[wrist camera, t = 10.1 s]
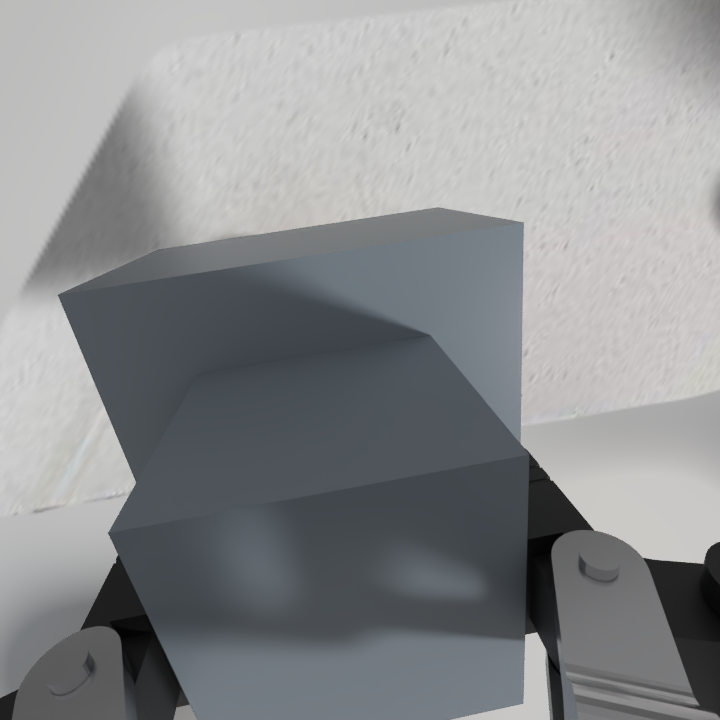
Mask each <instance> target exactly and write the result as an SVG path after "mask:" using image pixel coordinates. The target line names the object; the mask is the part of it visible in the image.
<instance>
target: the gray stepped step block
mask: <svg viewBox="0 0 720 720" xmlns="http://www.w3.org/2000/svg"><path fill="white" fill-rule="evenodd" d="M523 229H524V223H523V222H517V221H512V220H506V219H500V218H495V217H489V216H483V215H478V214H472V213H466V212H461V211H455V210H449V209H444V208H431V209H424V210H418V211H411V212H405V213H398V214H391V215H385V216H378V217H372V218H365V219H358V220H352V221H345V222H339V223H332V224H325V225H319V226H312V227H305V228H299V229H292V230H286V231H279V232H272V233H266V234H259V235H253V236H246V237H239V238H233V239H226V240H220V241H213V242H206V243H200V244H193V245H186V246H180V247H173V248H167V249H160V250H157V251H155V252H153V253H150V254H148V255H146V256H144V257H141V258H139V259H137V260H135V261H132V262H130V263H128V264H126V265H123V266H121V267H119V268H117V269H114V270H112V271H110V272H108V273H106V274H103V275H101V276H99V277H97V278H94V279H92V280H90V281H88V282H85V283H83V284H81V285H79V286H76V287H74V288H72V289H70V290H67V291H65V292H63V293H61V294H59V295H58V296H59V299H60V301H61V303H62V306H63V308H64V311H65V313H66V315H67V318H68V320H69V323H70V325H71V327H72V330H73V332H74V335H75V337H76V339H77V342H78V344H79V347H80V349H81V351H82V354H83V356H84V359H85V361H86V363H87V366H88V368H89V370H90V373H91V375H92V378H93V380H94V382H95V385H96V387H97V390H98V392H99V394H100V397H101V399H102V402H103V404H104V406H105V409H106V411H107V414H108V416H109V418H110V421H111V423H112V425H113V428H114V430H115V433H116V435H117V437H118V440H119V442H120V445H121V447H122V449H123V452H124V454H125V457H126V459H127V461H128V464H129V466H130V469H131V471H132V473H133V476H134V478H135V481H136V485H135V486H134V488H133V490H132V492H131V494H130V495H129V497H128V499H127V501H126V502H125V504H124V506H123V508H122V510H121V511H120V513H119V515H118V517H117V518H116V520H115V522H114V524H113V526H112V527H111V529H110V531H109V532H108V534H109V536H110V538H111V540H112V542H113V544H114V546H115V549H116V551H117V553H118V555H119V557H120V559H121V561H122V563H123V565H124V567H125V570H126V572H127V574H128V576H129V578H130V580H131V582H132V584H133V586H134V588H135V590H136V593H137V595H138V597H139V599H140V601H141V603H142V605H143V607H144V609H145V611H146V614H147V616H148V618H149V620H150V622H151V624H152V626H153V628H154V630H155V632H156V635H157V637H158V639H159V641H160V643H161V645H162V647H163V649H164V651H165V653H166V655H167V658H168V660H169V662H170V664H171V666H172V668H173V670H174V672H175V674H176V676H177V679H178V681H179V683H180V685H181V687H182V689H183V691H184V693H185V695H186V697H187V699H188V702H189V704H190V706H191V708H192V710H193V712H194V714H195V716H196V718H197V720H451V719H455V718H460V717H464V716H469V715H473V714H477V713H482V712H487V711H491V710H496V709H500V708H505V707H510V706H514V705H519V704H523V693H524V689H523V688H524V652H525V611H526V571H527V530H528V489H529V453H528V452H527V451H526V450H525V449H524V447H523V446H522V445H521V444H520V435H521V432H520V430H521V366H522V297H523Z"/></svg>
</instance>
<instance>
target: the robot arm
mask: <svg viewBox="0 0 720 720" xmlns="http://www.w3.org/2000/svg"><path fill="white" fill-rule="evenodd" d="M524 449H525V448H524ZM525 450H526V449H525ZM526 451H527V450H526ZM527 452H528V451H527ZM528 453H529V452H528ZM535 632H537V633H538V634H539V637H540V639H541V641H542V642H543V644H544V646H545V648H546V675H547V687H548V699H549V711H550V720H720V542H718V543H716V544H714V545H713V546H711V547H710V548H709V549H708V551H707V553H706V557H705V561H704V564H698V563H686V562H673V561H660V560H652V559H646V558H642V557H641V555H640V554H639V553H638V552H637V551H636V550H635V549H633V548H632V547H631V546H630V545H628V544H627V543H625V542H624V541H622V540H620V539H618V538H616V537H614V536H611V535H609V534H606V533H602V532H598V531H594V530H593V528H592V527H591V526H590V525H589V524H588V522H587V521H586V520H585V519H584V518H583V516H582V515H581V514H580V513H579V512H578V510H577V509H576V508H575V507H574V506H573V504H572V503H571V502H570V501H569V500H568V499H567V497H566V496H565V495H564V494H563V492H562V491H561V490H560V489H559V488H558V487H557V485H556V484H555V483H554V482H553V481H551V480H550V477H549V476H548V475H547V473H546V472H545V471H544V470H543V469H542V468H540V466H539V464H538V463H537V461H536V460H535V459H534V458H533V457H532V456H531V454H530V453H529V489H528V530H527V571H526V611H525V635H526V634H531V633H535ZM185 705H190V704H189V702H188V699H187V697H186V695H185V693H184V691H183V689H182V687H181V685H180V683H179V681H178V679H177V676H176V674H175V672H174V670H173V668H172V666H171V664H170V662H169V660H168V658H167V655H166V653H165V651H164V649H163V647H162V645H161V643H160V641H159V639H158V637H157V635H156V632H155V630H154V628H153V626H152V624H151V622H150V620H149V618H148V616H147V614H146V611H145V609H144V607H143V605H142V603H141V601H140V599H139V597H138V595H137V593H136V590H135V588H134V586H133V584H132V582H131V580H130V578H129V576H128V574H127V572H126V570H125V567H124V565H123V563H122V561H121V559H120V557H119V555H118V556H117V558H116V563H115V564H114V565H113V566H112V568H111V570H110V572H109V574H108V576H107V578H106V580H105V582H104V584H103V586H102V588H101V590H100V592H99V594H98V596H97V598H96V600H95V602H94V604H93V606H92V608H91V610H90V612H89V614H88V616H87V618H86V620H85V622H84V624H83V626H82V628H81V630H80V631H79V632H76V633H74V634H72V635H70V636H68V637H66V638H65V639H63V640H62V641H60V642H59V643H57V644H56V645H55V646H53V647H52V648H51V649H50V650H48V651H47V652H46V653H45V654H44V655H43V656H42V657H41V658H40V659H39V660H38V661H37V662H36V663H35V664H34V666H33V667H32V668H31V669H30V671H29V672H28V673H27V675H26V676H25V678H24V680H23V682H22V683H21V685H20V687H19V689H18V690H16V691H14V692H12V693H10V694H8V695H6V696H4V697H2V698H0V720H173V719H174V715H175V710H176V707H180V706H185Z"/></svg>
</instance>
